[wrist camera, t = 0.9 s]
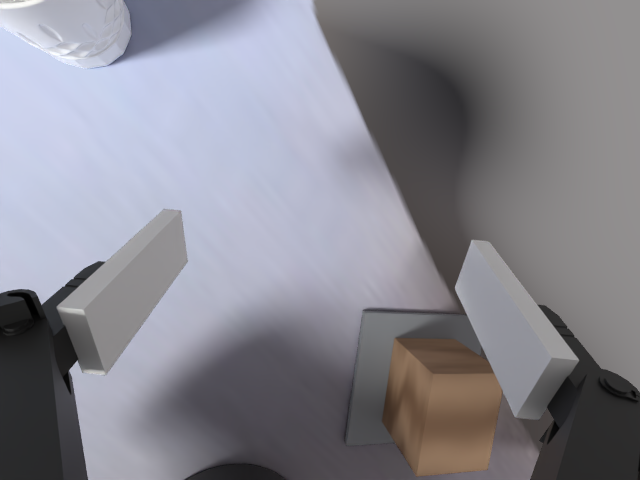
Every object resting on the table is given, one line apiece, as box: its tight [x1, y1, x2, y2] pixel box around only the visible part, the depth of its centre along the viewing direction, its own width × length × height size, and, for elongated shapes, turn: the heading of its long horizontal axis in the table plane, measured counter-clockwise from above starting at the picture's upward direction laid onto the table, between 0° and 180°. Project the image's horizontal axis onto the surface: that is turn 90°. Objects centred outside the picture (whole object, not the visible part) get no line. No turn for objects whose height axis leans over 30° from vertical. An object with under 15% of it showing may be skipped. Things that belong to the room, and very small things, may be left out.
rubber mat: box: [345, 310, 482, 446], centre depth 35 cm, size 14×14×1 cm
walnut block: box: [382, 338, 503, 477], centre depth 32 cm, size 9×7×7 cm
